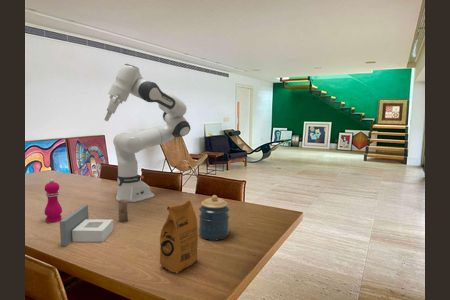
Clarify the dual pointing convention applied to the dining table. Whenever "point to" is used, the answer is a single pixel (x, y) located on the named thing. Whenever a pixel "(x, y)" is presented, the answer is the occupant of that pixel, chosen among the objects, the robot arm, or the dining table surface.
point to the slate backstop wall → (72, 224)
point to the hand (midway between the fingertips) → (106, 120)
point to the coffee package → (179, 238)
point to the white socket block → (92, 230)
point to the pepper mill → (52, 202)
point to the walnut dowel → (123, 211)
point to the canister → (213, 218)
